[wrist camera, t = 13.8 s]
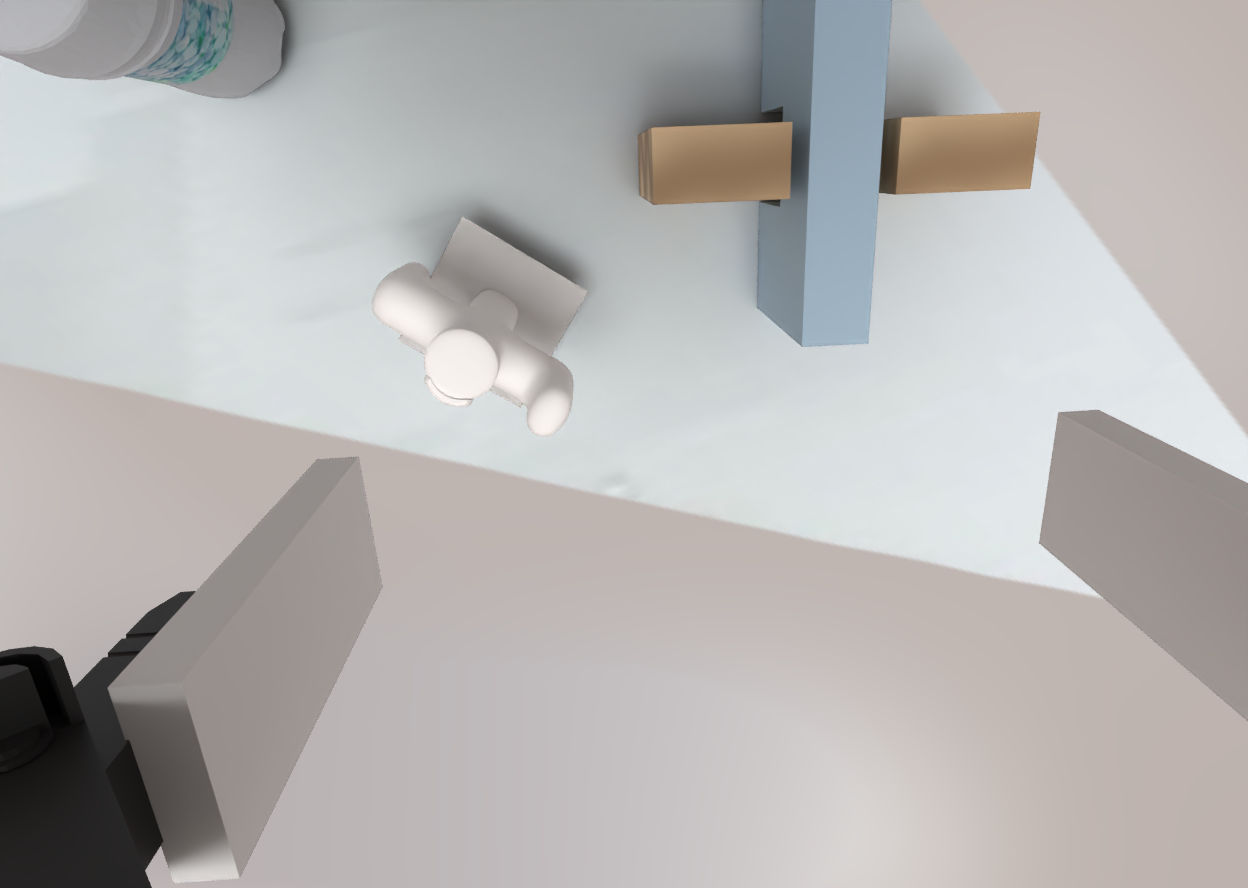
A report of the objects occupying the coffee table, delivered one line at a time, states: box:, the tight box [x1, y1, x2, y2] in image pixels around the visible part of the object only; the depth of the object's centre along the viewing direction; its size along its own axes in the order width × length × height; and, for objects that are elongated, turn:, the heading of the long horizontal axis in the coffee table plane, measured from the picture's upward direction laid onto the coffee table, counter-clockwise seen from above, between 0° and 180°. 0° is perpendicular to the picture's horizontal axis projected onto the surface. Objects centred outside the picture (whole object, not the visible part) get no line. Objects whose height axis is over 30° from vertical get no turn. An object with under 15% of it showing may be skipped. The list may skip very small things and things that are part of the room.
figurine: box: [372, 216, 588, 436], centre depth 37 cm, size 7×10×15 cm
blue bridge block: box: [757, 0, 892, 347], centre depth 37 cm, size 16×3×10 cm, turn 2°
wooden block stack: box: [638, 112, 1040, 205], centre depth 37 cm, size 3×16×10 cm, turn 92°
